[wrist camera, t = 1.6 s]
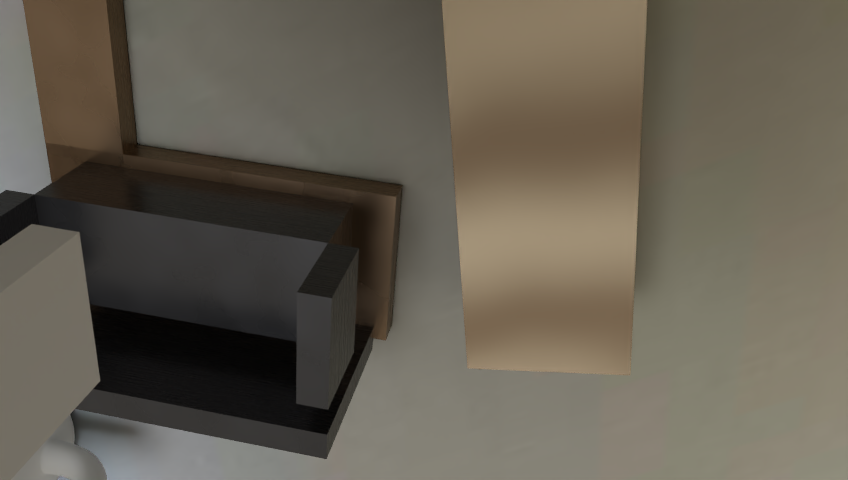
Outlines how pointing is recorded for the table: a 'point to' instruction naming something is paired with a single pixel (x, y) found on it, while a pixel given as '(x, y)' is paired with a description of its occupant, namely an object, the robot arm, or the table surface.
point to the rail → (546, 178)
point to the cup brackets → (203, 257)
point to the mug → (62, 459)
